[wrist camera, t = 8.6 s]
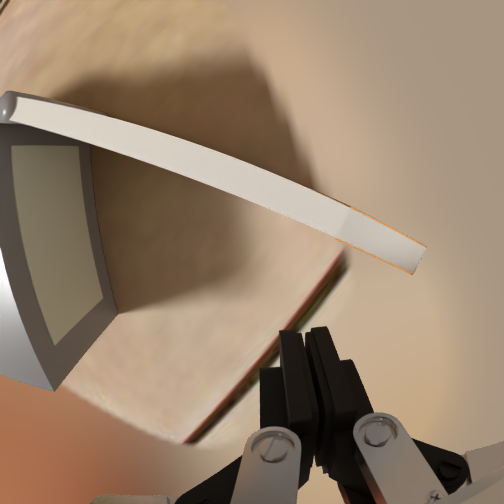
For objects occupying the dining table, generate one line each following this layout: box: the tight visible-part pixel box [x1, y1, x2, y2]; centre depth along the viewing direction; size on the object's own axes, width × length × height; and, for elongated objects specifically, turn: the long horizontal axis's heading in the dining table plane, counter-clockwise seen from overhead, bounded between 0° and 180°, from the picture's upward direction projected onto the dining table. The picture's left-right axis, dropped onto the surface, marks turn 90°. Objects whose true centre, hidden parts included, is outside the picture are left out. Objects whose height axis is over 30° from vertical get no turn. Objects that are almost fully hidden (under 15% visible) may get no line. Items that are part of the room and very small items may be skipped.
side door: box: [0, 91, 426, 275], centre depth 12 cm, size 18×1×9 cm, turn 68°
